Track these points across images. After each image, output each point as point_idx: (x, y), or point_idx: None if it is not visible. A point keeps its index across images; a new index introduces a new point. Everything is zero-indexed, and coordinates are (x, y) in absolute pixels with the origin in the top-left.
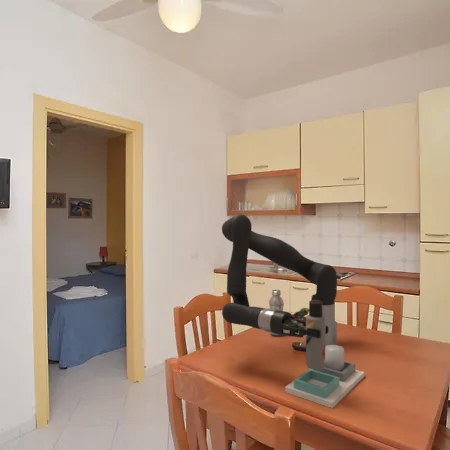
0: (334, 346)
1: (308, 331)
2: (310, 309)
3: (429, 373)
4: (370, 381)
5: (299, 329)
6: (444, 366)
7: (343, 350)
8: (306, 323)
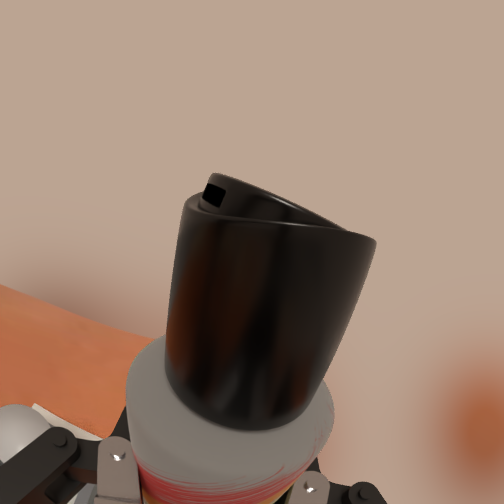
0: (2, 429)
1: (317, 468)
2: (340, 339)
3: (24, 309)
4: (62, 404)
5: (379, 497)
6: (5, 287)
7: (35, 410)
8: (290, 485)
